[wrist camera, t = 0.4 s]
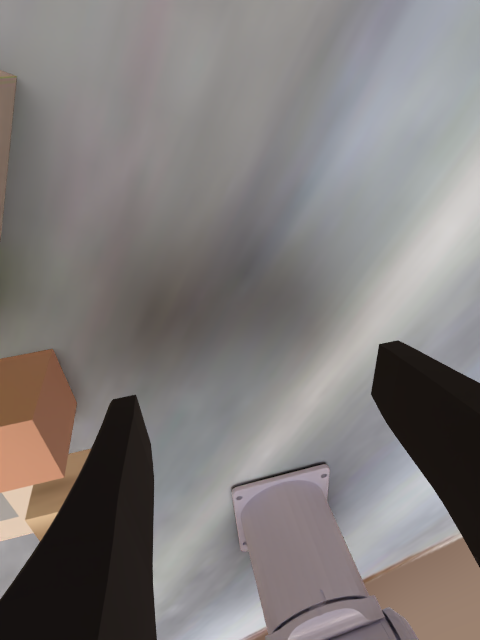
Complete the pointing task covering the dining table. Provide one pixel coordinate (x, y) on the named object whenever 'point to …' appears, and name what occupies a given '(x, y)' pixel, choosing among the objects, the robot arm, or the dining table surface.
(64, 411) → the terracotta block
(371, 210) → the dining table surface
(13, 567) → the dining table surface
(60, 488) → the maple block
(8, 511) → the square frame
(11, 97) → the puzzle toy
